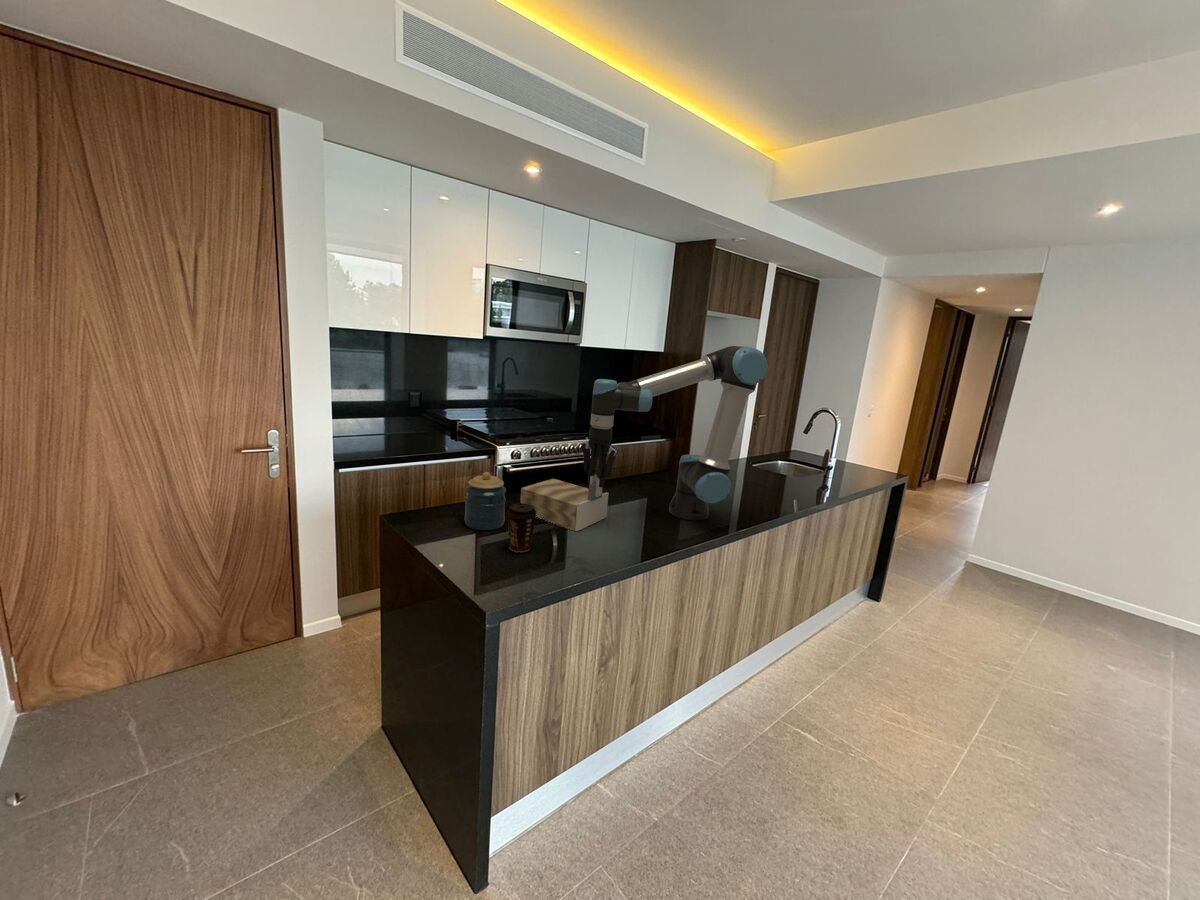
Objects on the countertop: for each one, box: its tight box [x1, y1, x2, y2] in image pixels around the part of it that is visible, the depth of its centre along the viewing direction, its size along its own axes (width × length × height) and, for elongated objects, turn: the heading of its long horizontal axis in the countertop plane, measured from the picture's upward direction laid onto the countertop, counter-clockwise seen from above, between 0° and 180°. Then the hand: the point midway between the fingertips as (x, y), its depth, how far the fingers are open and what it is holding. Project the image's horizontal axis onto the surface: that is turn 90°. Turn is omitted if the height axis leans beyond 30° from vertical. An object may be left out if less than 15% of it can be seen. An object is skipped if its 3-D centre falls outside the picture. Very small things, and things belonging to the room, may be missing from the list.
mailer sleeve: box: [519, 478, 605, 532], centre depth 178 cm, size 24×18×9 cm
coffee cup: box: [506, 502, 537, 553], centre depth 148 cm, size 9×8×13 cm
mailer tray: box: [574, 481, 610, 532], centre depth 176 cm, size 25×18×15 cm
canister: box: [464, 471, 507, 531], centre depth 163 cm, size 13×13×18 cm
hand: (595, 494), depth 170 cm, fingers closed on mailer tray, 2 cm apart
